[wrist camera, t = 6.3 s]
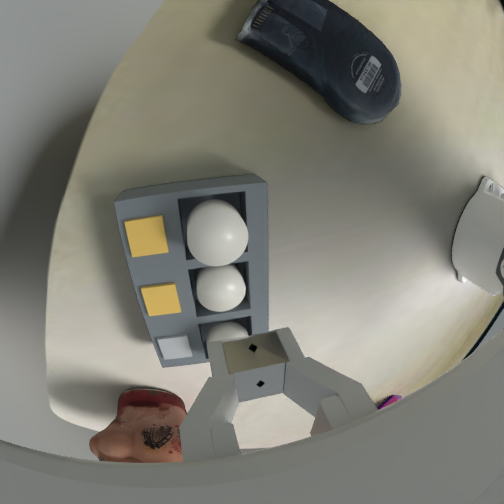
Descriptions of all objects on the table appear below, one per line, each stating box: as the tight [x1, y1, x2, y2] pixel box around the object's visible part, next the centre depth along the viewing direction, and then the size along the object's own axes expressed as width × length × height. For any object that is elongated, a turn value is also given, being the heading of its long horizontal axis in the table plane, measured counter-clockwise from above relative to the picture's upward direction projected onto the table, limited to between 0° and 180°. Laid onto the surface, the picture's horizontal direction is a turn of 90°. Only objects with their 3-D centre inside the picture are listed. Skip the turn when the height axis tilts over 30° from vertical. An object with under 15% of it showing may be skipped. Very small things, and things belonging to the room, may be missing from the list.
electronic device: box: [236, 0, 401, 124], centre depth 17 cm, size 10×6×15 cm
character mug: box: [89, 389, 187, 463], centre depth 27 cm, size 20×12×14 cm, turn 79°
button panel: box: [114, 174, 269, 368], centre depth 23 cm, size 11×17×4 cm, turn 2°
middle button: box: [195, 263, 246, 312], centre depth 23 cm, size 4×4×2 cm
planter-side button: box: [206, 322, 248, 361], centre depth 24 cm, size 4×4×2 cm
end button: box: [187, 199, 248, 266], centre depth 19 cm, size 4×4×2 cm
